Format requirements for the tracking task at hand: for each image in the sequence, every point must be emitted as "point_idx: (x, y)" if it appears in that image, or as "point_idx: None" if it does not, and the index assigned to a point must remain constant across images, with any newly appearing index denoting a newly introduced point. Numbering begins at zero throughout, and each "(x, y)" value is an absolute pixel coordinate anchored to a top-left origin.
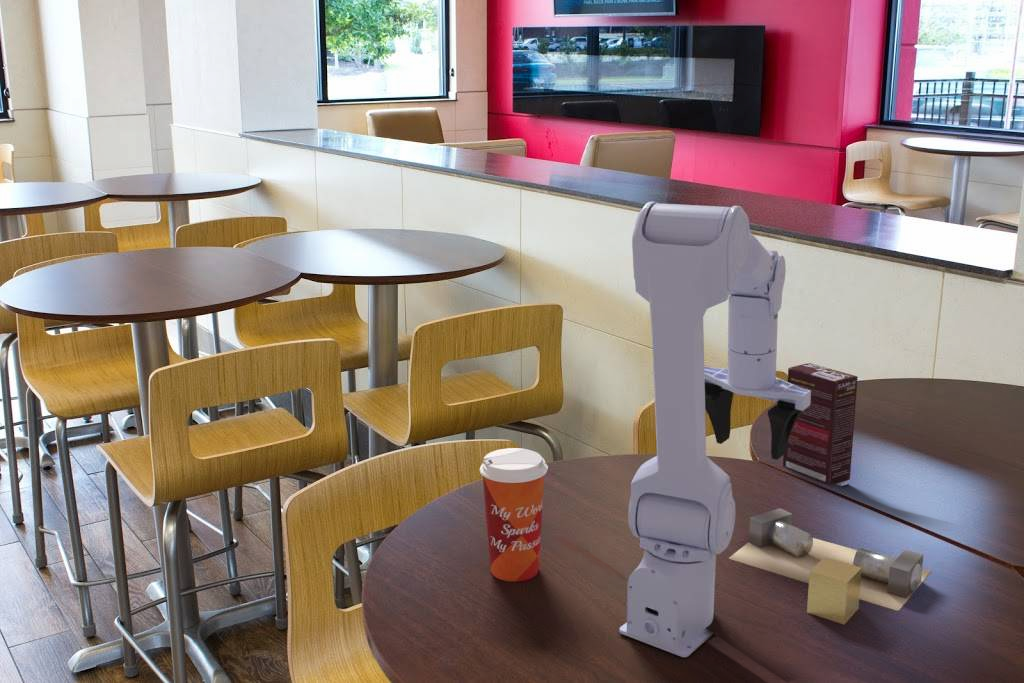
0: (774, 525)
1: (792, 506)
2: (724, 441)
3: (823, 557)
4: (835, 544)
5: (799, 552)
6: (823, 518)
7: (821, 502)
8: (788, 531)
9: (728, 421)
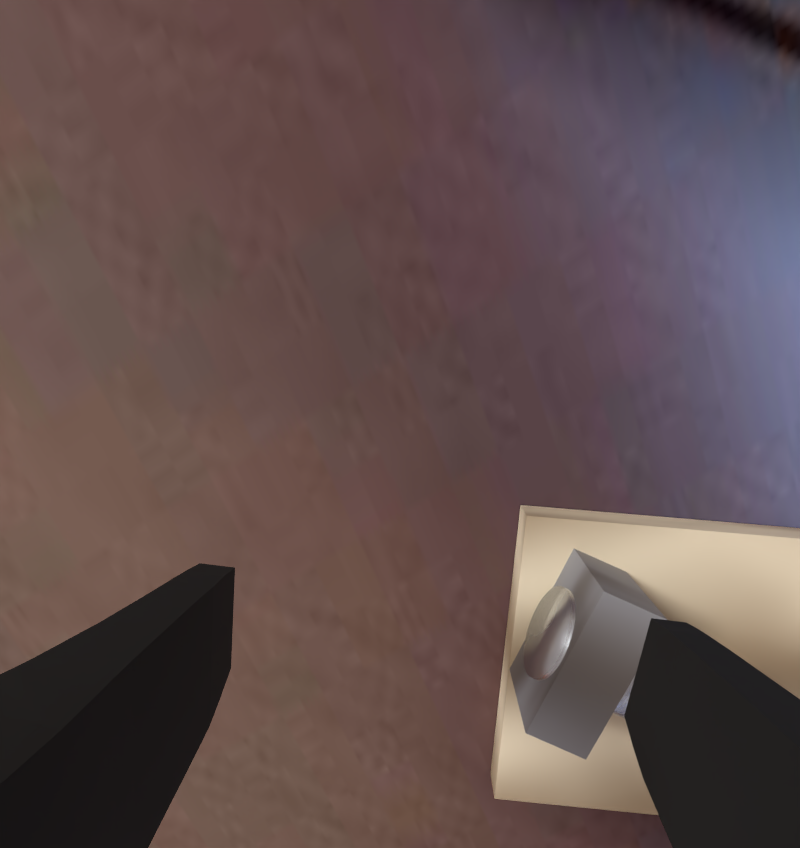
0: (618, 708)
1: (518, 221)
2: (231, 626)
3: (765, 651)
4: (782, 541)
5: None
6: (656, 265)
7: (609, 111)
8: None
9: (165, 665)
